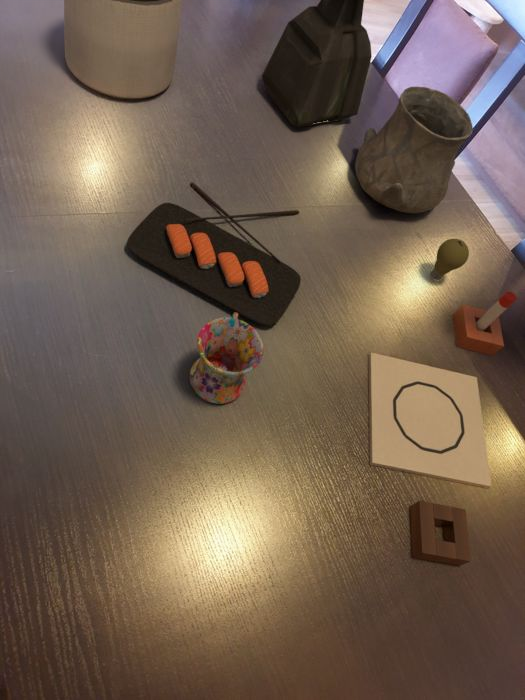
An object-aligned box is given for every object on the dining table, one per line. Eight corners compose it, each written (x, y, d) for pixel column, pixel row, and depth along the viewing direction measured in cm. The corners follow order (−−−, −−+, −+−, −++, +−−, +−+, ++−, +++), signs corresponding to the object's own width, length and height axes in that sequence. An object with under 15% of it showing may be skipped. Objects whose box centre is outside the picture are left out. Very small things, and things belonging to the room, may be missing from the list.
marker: (476, 331, 106) (515, 292, 97) (477, 340, 105) (517, 302, 96) (466, 328, 106) (504, 289, 96) (467, 337, 105) (506, 299, 95)
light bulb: (415, 273, 110) (441, 239, 102) (431, 262, 113) (458, 228, 105) (436, 293, 109) (464, 259, 101) (451, 281, 112) (480, 247, 104)
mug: (241, 415, 84) (258, 381, 76) (180, 400, 83) (191, 364, 74) (252, 349, 91) (269, 311, 83) (196, 334, 90) (208, 295, 81)
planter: (185, 63, 127) (200, -32, 111) (153, 118, 115) (164, 19, 98) (90, 26, 125) (91, -76, 109) (46, 78, 113) (40, -29, 96)
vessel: (392, 145, 131) (435, 65, 115) (453, 211, 124) (509, 136, 108) (321, 162, 121) (358, 77, 105) (383, 236, 114) (433, 157, 97)
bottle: (317, 80, 137) (367, -56, 113) (354, 124, 132) (416, -9, 107) (255, 88, 129) (295, -57, 105) (292, 136, 123) (344, -6, 99)
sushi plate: (118, 253, 94) (119, 237, 91) (203, 161, 112) (207, 145, 109) (270, 337, 93) (276, 324, 90) (332, 231, 111) (340, 217, 108)
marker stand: (454, 514, 85) (465, 509, 82) (459, 566, 81) (471, 561, 78) (409, 506, 84) (419, 500, 81) (412, 557, 80) (422, 553, 77)
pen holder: (487, 323, 108) (498, 313, 105) (492, 355, 104) (504, 346, 101) (452, 315, 107) (462, 304, 104) (456, 347, 103) (467, 336, 100)
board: (473, 379, 100) (477, 376, 99) (487, 488, 89) (492, 486, 88) (368, 355, 97) (371, 351, 96) (369, 464, 86) (372, 462, 85)
